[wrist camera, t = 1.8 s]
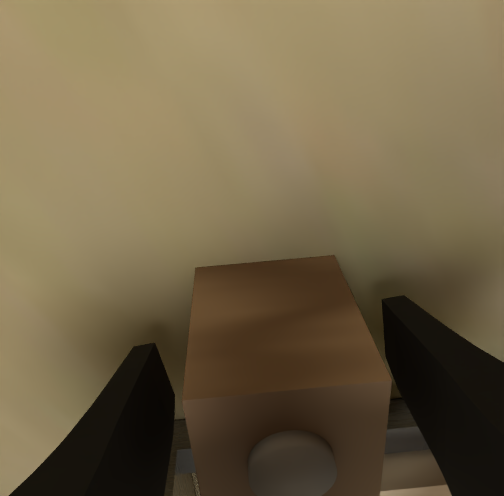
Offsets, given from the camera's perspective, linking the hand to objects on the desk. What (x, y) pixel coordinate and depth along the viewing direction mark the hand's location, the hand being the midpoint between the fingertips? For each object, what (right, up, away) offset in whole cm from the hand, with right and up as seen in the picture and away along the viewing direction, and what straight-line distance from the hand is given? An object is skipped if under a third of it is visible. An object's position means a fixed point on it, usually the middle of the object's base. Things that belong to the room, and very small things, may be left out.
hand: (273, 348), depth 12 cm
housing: (0, +1, +1) cm, 2 cm away
